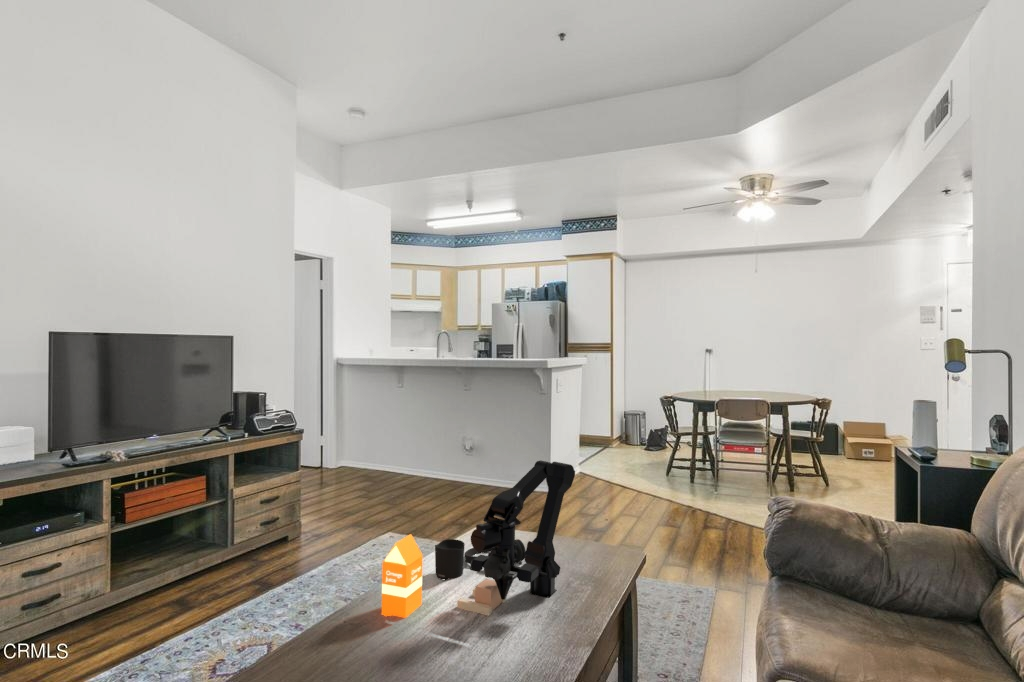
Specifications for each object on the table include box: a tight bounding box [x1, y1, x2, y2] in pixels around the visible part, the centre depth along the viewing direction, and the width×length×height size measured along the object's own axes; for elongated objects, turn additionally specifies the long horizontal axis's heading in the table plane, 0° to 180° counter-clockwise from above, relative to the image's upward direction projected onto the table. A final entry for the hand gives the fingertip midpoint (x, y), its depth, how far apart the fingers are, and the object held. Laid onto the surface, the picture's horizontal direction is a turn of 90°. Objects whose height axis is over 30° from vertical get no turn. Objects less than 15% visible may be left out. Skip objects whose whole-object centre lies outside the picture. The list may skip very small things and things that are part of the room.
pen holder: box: [434, 538, 465, 581], centre depth 181 cm, size 9×9×10 cm
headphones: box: [464, 538, 526, 564], centre depth 194 cm, size 17×7×20 cm
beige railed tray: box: [456, 587, 507, 617], centre depth 162 cm, size 18×12×2 cm, turn 63°
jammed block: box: [474, 578, 502, 612], centre depth 159 cm, size 5×6×6 cm
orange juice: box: [381, 533, 424, 619], centre depth 156 cm, size 8×9×20 cm
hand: (503, 598), depth 157 cm, fingers closed
